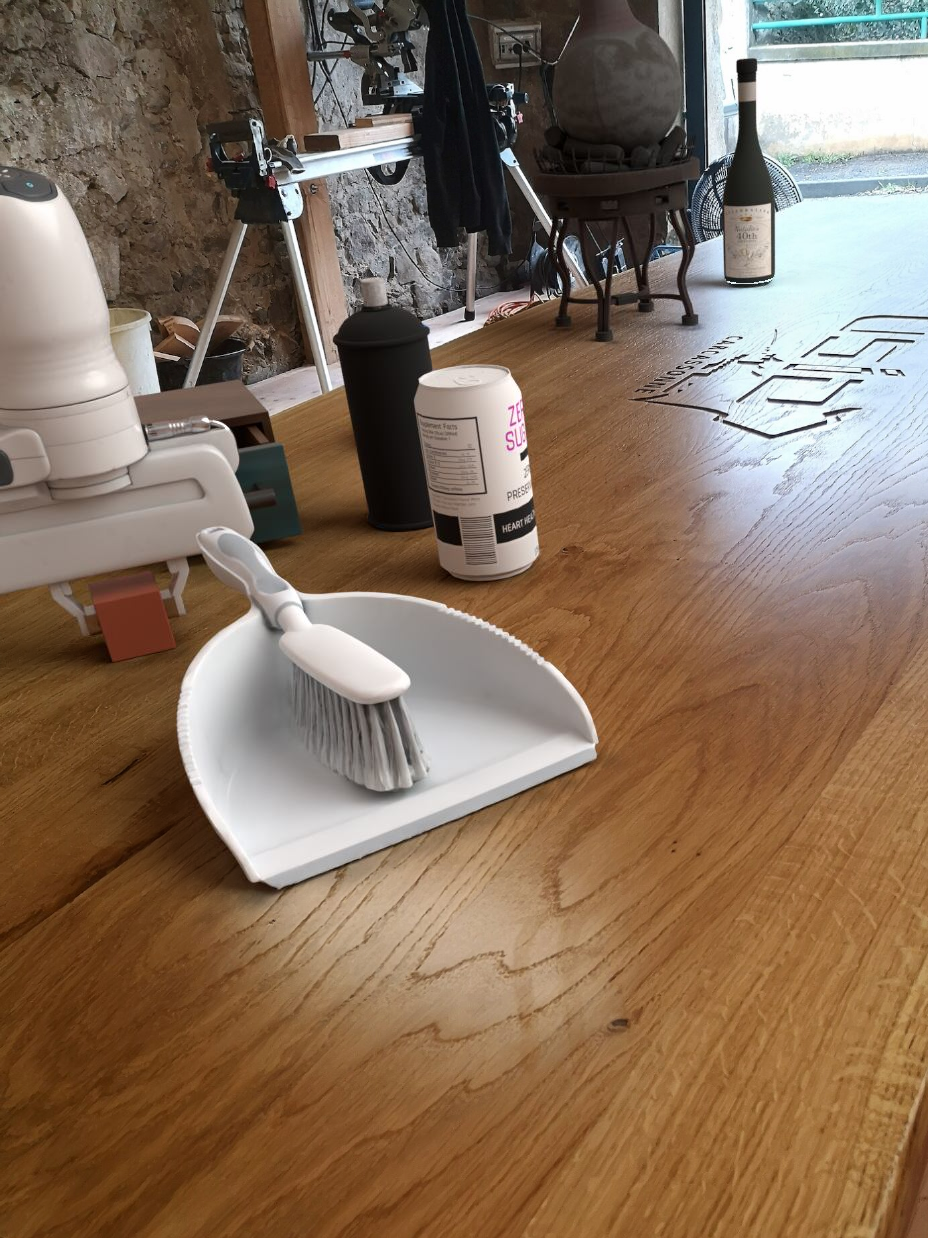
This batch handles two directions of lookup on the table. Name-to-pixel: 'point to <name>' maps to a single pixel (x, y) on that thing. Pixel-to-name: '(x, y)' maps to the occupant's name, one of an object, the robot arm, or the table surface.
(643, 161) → the brazier
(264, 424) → the cabinet
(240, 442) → the drawer
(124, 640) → the block
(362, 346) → the aerosol can
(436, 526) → the supplement can
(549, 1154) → the table surface
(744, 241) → the wine bottle
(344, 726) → the dustpan and brush
